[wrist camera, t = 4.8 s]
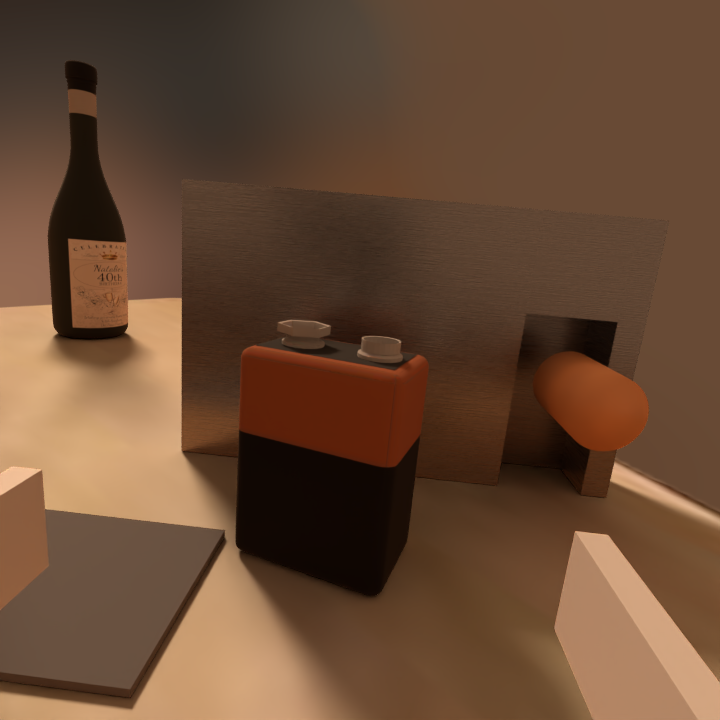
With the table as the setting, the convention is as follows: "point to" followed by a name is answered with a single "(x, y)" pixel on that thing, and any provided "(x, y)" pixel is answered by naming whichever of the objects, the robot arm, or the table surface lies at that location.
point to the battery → (328, 453)
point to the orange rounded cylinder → (591, 401)
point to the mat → (101, 601)
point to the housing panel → (417, 309)
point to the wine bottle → (86, 229)
